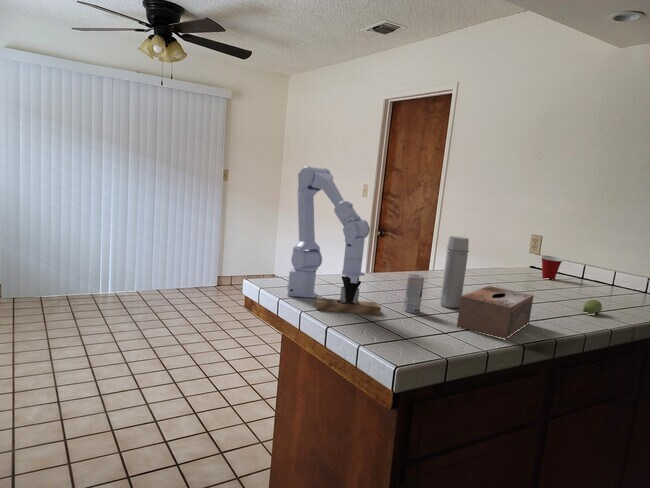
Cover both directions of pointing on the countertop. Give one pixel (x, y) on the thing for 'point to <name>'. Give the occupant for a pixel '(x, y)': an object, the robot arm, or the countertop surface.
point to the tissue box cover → (494, 311)
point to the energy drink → (413, 293)
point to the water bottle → (454, 271)
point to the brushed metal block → (343, 299)
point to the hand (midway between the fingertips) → (348, 300)
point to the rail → (348, 306)
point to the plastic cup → (550, 266)
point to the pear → (592, 306)
